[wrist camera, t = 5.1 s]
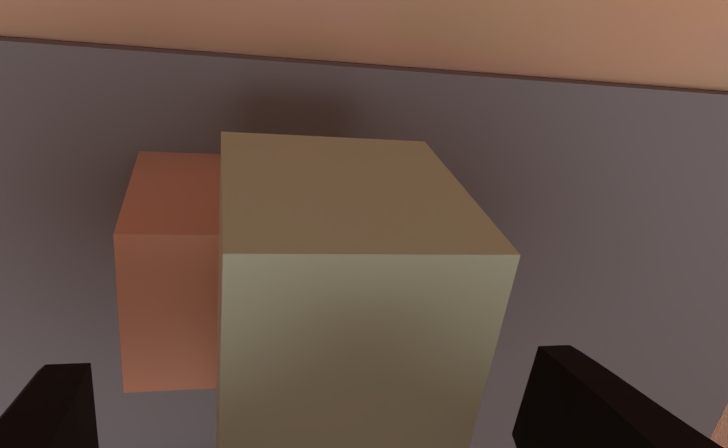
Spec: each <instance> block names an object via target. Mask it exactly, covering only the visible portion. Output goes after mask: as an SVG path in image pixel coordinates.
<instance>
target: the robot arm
mask: <svg viewBox="0 0 728 448" xmlns="http://www.w3.org/2000/svg"><path fill="white" fill-rule="evenodd" d="M512 436H513V439H514V442H515V445H516V448H723V447H721V446H720V445H718V444H717V443H715V442H714V441H712V440H711V439H709V438H708V437H706V436H705V435H703V434H701V433H700V432H698V431H697V430H695V429H694V428H692V427H691V426H689V425H688V424H686V423H685V422H684V421H682V420H681V419H679V418H678V417H676V416H675V415H673V414H672V413H670V412H669V411H667V410H666V409H664V408H663V407H662V406H660V405H659V404H657V403H656V402H654V401H653V400H651V399H650V398H649V397H647V396H646V395H644V394H643V393H641V392H640V391H639V390H637V389H636V388H634V387H633V386H631V385H630V384H628V383H627V382H626V381H624V380H623V379H621V378H620V377H618V376H617V375H615V374H614V373H613V372H611V371H610V370H608V369H607V368H605V367H604V366H602V365H601V364H599V363H598V362H596V361H595V360H593V359H592V358H590V357H589V356H587V355H586V354H584V353H583V352H581V351H579V350H578V349H576V348H574V347H573V346H571V345H555V346H538V349H537V352H536V355H535V359H534V362H533V365H532V369H531V372H530V375H529V379H528V382H527V385H526V388H525V392H524V395H523V398H522V402H521V405H520V408H519V412H518V415H517V418H516V421H515V425H514V428H513V431H512ZM0 448H99V444H98V433H97V423H96V412H95V402H94V391H93V381H92V370H91V363H70V364H45V365H44V366H43V367H42V368H41V369H39V370H38V371H37V372H36V374H35V375H34V376H33V377H32V379H31V380H30V381H29V382H28V384H27V385H26V386H25V387H24V388H23V390H22V391H21V392H20V393H19V395H18V396H17V397H16V398H15V399H14V401H13V402H12V403H11V404H10V406H9V407H8V408H7V409H6V410H5V412H4V413H3V414H2V415H1V416H0Z"/></svg>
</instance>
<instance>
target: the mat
mask: <svg viewBox="0 0 728 448" xmlns="http://www.w3.org/2000/svg"><path fill="white" fill-rule="evenodd" d="M221 132H241V133H262V134H282V135H303V136H323V137H343V138H364V139H384V140H405V141H425V142H426V144H427V145H428V146H429V147H430V148H431V150H432V151H433V152H434V153H435V154H436V155H437V157H438V158H439V159H440V160H441V161H442V163H443V164H444V165H445V166H446V167H447V168H448V170H449V171H450V172H451V173H452V174H453V176H454V177H455V178H456V179H457V180H458V181H459V183H460V184H461V185H462V186H463V187H464V189H465V190H466V191H467V192H468V193H469V194H470V196H471V197H472V198H473V199H474V200H475V202H476V203H477V204H478V205H479V206H480V207H481V209H482V210H483V211H484V212H485V213H486V215H487V216H488V217H489V218H490V219H491V220H492V222H493V223H494V224H495V225H496V226H497V228H498V229H499V230H500V231H501V232H502V233H503V235H504V236H505V237H506V238H507V239H508V241H509V242H510V243H511V244H512V245H513V246H514V248H515V249H516V250H517V251H518V252H519V254H520V259H519V263H518V266H517V270H516V274H515V278H514V281H513V285H512V289H511V293H510V296H509V300H508V304H507V307H506V311H505V315H504V319H503V322H502V326H501V330H500V334H499V337H498V341H497V345H496V348H495V352H494V356H493V360H492V363H491V367H490V371H489V375H488V378H487V382H486V386H485V389H484V393H483V397H482V401H481V404H480V408H479V412H478V416H477V419H476V423H475V427H474V431H473V434H472V438H471V442H470V445H469V448H516V445H515V442H514V439H513V436H512V431H513V428H514V425H515V421H516V418H517V415H518V412H519V408H520V405H521V402H522V398H523V395H524V392H525V388H526V385H527V382H528V379H529V375H530V372H531V369H532V365H533V362H534V359H535V355H536V352H537V349H538V346H555V345H571V346H573V347H574V348H576V349H578V350H579V351H581V352H583V353H584V354H586V355H587V356H589V357H590V358H592V359H593V360H595V361H596V362H598V363H599V364H601V365H602V366H604V367H605V368H607V369H608V370H610V371H611V372H613V373H614V374H615V375H617V376H618V377H620V378H621V379H623V380H624V381H626V382H627V383H628V384H630V385H631V386H633V387H634V388H636V389H637V390H639V391H640V392H641V393H643V394H644V395H646V396H647V397H649V398H650V399H651V400H653V401H654V402H656V403H657V404H659V405H660V406H662V407H663V408H664V409H666V410H667V411H669V412H670V413H672V414H673V415H675V416H676V417H678V418H679V419H681V420H682V421H684V422H685V423H686V424H688V425H689V426H691V427H692V428H694V429H695V430H697V431H698V432H700V433H701V434H703V435H705V436H706V437H708V438H709V439H710V437H711V435H712V433H713V431H714V429H715V427H716V425H717V423H718V421H719V419H720V417H721V415H722V413H723V411H724V409H725V407H726V405H727V403H728V92H725V91H712V90H699V89H686V88H673V87H659V86H646V85H633V84H620V83H607V82H594V81H581V80H567V79H554V78H541V77H528V76H515V75H502V74H489V73H475V72H462V71H449V70H436V69H423V68H410V67H397V66H383V65H370V64H357V63H344V62H331V61H318V60H305V59H291V58H278V57H265V56H252V55H239V54H226V53H213V52H199V51H186V50H173V49H160V48H147V47H134V46H121V45H107V44H94V43H81V42H68V41H55V40H42V39H29V38H15V37H2V36H0V416H1V415H2V414H3V413H4V412H5V410H6V409H7V408H8V407H9V406H10V404H11V403H12V402H13V401H14V399H15V398H16V397H17V396H18V395H19V393H20V392H21V391H22V390H23V388H24V387H25V386H26V385H27V384H28V382H29V381H30V380H31V379H32V377H33V376H34V375H35V374H36V372H37V371H38V370H39V369H41V368H42V367H43V366H44V365H45V364H70V363H91V370H92V381H93V391H94V402H95V412H96V423H97V433H98V444H99V448H215V403H216V388H214V389H193V390H172V391H151V392H130V393H124V391H123V376H122V361H121V346H120V331H119V315H118V300H117V285H116V270H115V255H114V239H113V233H114V230H115V227H116V224H117V220H118V217H119V214H120V211H121V207H122V204H123V201H124V198H125V195H126V191H127V188H128V185H129V182H130V178H131V175H132V172H133V169H134V165H135V162H136V159H137V156H138V153H139V151H154V152H179V153H205V154H221Z"/></svg>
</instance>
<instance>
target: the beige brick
mask: <svg viewBox="0 0 728 448" xmlns="http://www.w3.org/2000/svg"><path fill="white" fill-rule="evenodd" d="M519 259H520V254H519V252H518V251H517V250H516V249H515V248H514V246H513V245H512V244H511V243H510V242H509V241H508V239H507V238H506V237H505V236H504V235H503V233H502V232H501V231H500V230H499V229H498V228H497V226H496V225H495V224H494V223H493V222H492V220H491V219H490V218H489V217H488V216H487V215H486V213H485V212H484V211H483V210H482V209H481V207H480V206H479V205H478V204H477V203H476V202H475V200H474V199H473V198H472V197H471V196H470V194H469V193H468V192H467V191H466V190H465V189H464V187H463V186H462V185H461V184H460V183H459V181H458V180H457V179H456V178H455V177H454V176H453V174H452V173H451V172H450V171H449V170H448V168H447V167H446V166H445V165H444V164H443V163H442V161H441V160H440V159H439V158H438V157H437V155H436V154H435V153H434V152H433V151H432V150H431V148H430V147H429V146H428V145H427V144H426V142H425V141H405V140H384V139H364V138H343V137H323V136H303V135H282V134H262V133H241V132H221V160H220V209H219V258H218V306H217V355H216V403H215V448H469V445H470V442H471V438H472V434H473V431H474V427H475V423H476V419H477V416H478V412H479V408H480V404H481V401H482V397H483V393H484V389H485V386H486V382H487V378H488V375H489V371H490V367H491V363H492V360H493V356H494V352H495V348H496V345H497V341H498V337H499V334H500V330H501V326H502V322H503V319H504V315H505V311H506V307H507V304H508V300H509V296H510V293H511V289H512V285H513V281H514V278H515V274H516V270H517V266H518V263H519Z"/></svg>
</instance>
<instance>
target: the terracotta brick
mask: <svg viewBox="0 0 728 448" xmlns="http://www.w3.org/2000/svg"><path fill="white" fill-rule="evenodd" d="M220 160H221V154H205V153H179V152H154V151H139V153H138V156H137V159H136V162H135V165H134V169H133V172H132V175H131V178H130V182H129V185H128V188H127V191H126V195H125V198H124V201H123V204H122V207H121V211H120V214H119V217H118V220H117V224H116V227H115V230H114V233H113V239H114V255H115V270H116V285H117V300H118V315H119V331H120V346H121V361H122V376H123V391H124V393H130V392H151V391H172V390H193V389H214V388H216V355H217V306H218V258H219V209H220Z"/></svg>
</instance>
